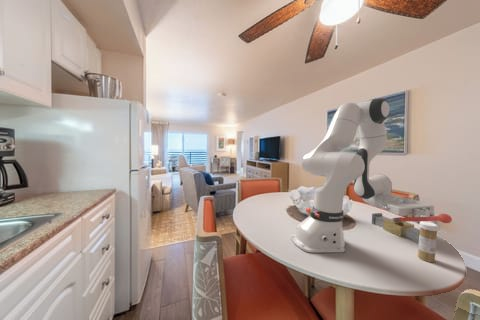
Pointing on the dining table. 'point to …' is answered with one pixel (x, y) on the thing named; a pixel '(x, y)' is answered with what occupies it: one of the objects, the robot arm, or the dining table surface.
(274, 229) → the dining table surface
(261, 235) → the dining table surface
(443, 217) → the lever
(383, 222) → the valve body
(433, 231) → the sprinkles bottle
